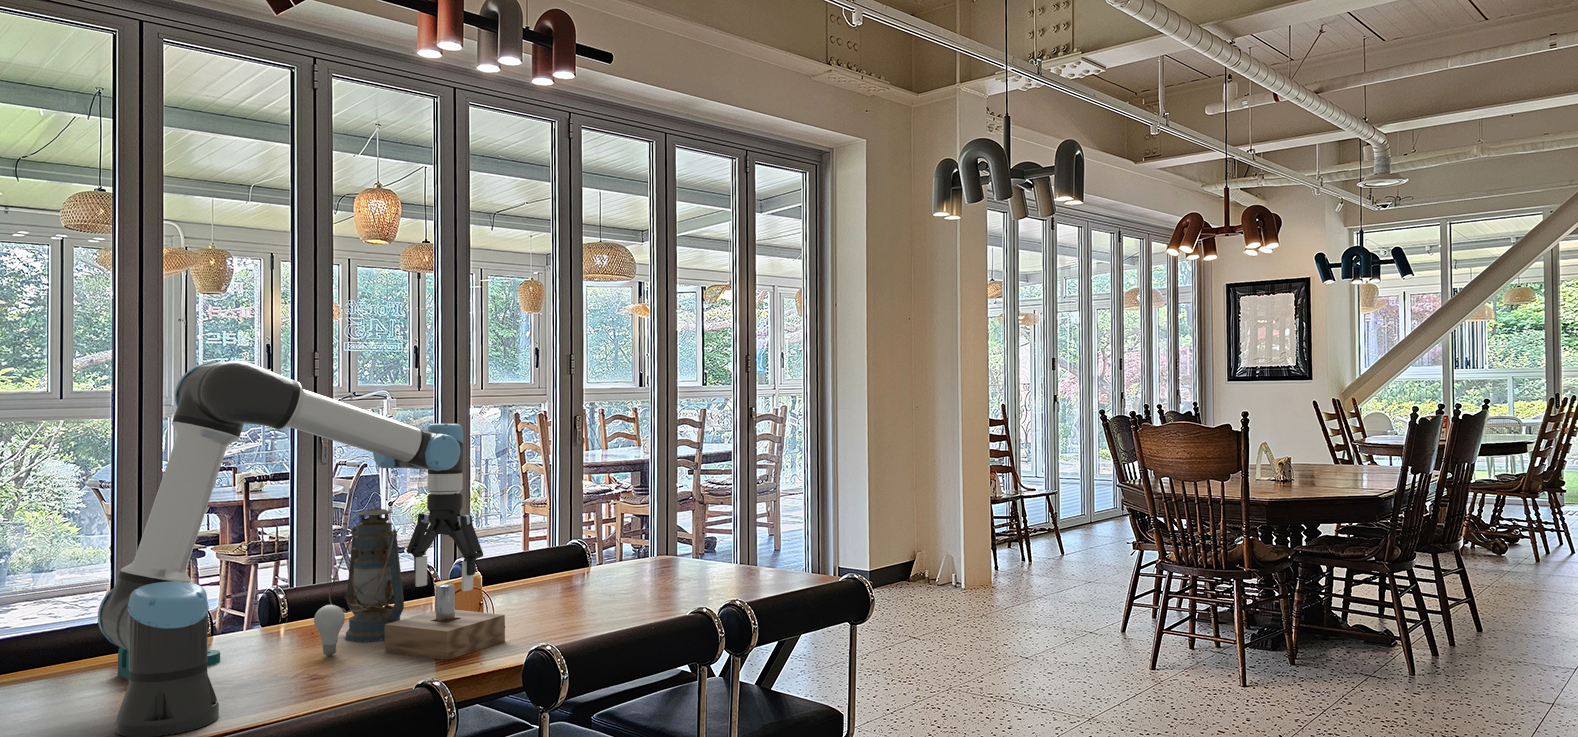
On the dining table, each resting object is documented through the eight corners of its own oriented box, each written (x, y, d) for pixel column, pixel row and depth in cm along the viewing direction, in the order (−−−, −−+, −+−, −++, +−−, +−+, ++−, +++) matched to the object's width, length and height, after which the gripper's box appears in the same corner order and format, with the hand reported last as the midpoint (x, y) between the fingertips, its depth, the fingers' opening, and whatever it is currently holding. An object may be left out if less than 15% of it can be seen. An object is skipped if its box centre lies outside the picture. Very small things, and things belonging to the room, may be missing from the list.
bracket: (130, 682, 207) (130, 642, 207) (117, 676, 211) (118, 637, 211) (225, 663, 220) (225, 626, 221) (212, 658, 225) (212, 622, 225)
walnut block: (447, 659, 220) (446, 631, 220) (384, 651, 228) (384, 624, 228) (504, 641, 236) (504, 614, 236) (444, 634, 244) (444, 608, 244)
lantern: (425, 634, 245) (424, 506, 245) (373, 647, 232) (373, 512, 233) (370, 625, 254) (370, 503, 255) (318, 638, 242) (317, 508, 243)
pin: (445, 642, 229) (445, 587, 230) (432, 640, 231) (431, 586, 231) (458, 638, 233) (458, 584, 233) (445, 636, 235) (444, 583, 235)
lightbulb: (333, 660, 221) (333, 608, 221) (307, 659, 222) (307, 607, 222) (350, 653, 227) (350, 602, 227) (326, 652, 228) (325, 601, 228)
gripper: (499, 493, 231) (499, 589, 230) (416, 489, 241) (415, 581, 241) (476, 495, 224) (475, 594, 223) (391, 491, 235) (389, 586, 234)
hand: (444, 588), depth 232 cm, fingers open, 13 cm apart
